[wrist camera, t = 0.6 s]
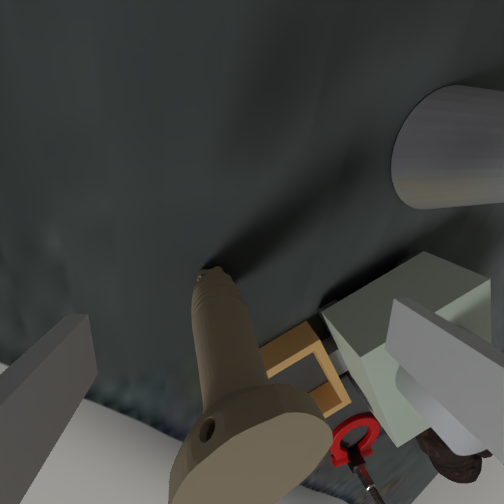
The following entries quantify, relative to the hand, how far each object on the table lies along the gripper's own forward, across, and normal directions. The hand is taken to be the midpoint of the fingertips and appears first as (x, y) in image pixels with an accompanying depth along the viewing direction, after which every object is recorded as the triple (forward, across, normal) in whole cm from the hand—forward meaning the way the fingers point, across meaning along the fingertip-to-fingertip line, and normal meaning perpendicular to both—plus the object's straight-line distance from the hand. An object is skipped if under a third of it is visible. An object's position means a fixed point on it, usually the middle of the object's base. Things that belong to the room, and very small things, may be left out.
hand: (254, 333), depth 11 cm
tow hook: (+18, +19, -31) cm, 40 cm away
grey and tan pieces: (+15, +12, -13) cm, 23 cm away
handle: (+12, -2, -2) cm, 13 cm away
